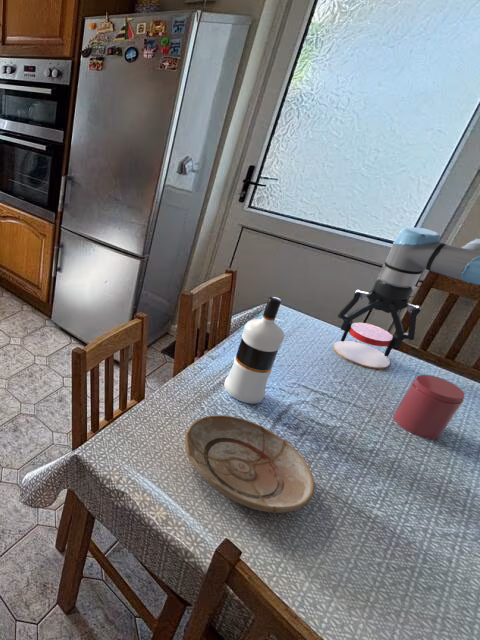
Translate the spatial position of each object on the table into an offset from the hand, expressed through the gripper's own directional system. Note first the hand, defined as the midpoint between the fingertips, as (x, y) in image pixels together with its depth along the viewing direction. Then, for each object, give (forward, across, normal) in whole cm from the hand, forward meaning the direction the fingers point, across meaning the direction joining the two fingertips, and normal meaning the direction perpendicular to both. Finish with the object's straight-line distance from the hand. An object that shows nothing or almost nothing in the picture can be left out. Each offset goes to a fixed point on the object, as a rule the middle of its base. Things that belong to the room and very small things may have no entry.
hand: (364, 346), depth 124 cm
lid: (-5, 0, 0) cm, 5 cm away
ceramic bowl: (+3, +13, +70) cm, 71 cm away
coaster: (+3, 0, 0) cm, 3 cm away
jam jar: (+3, -13, +25) cm, 28 cm away
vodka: (+3, +20, +43) cm, 47 cm away
